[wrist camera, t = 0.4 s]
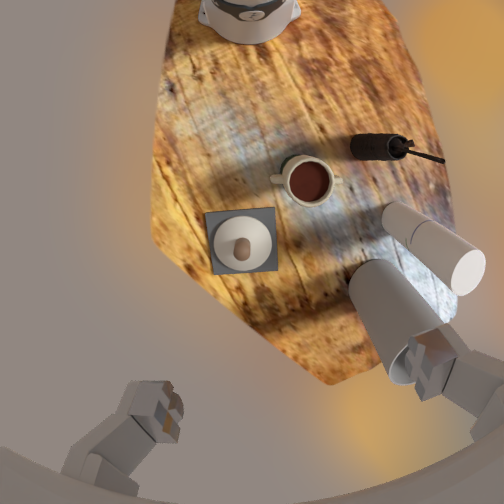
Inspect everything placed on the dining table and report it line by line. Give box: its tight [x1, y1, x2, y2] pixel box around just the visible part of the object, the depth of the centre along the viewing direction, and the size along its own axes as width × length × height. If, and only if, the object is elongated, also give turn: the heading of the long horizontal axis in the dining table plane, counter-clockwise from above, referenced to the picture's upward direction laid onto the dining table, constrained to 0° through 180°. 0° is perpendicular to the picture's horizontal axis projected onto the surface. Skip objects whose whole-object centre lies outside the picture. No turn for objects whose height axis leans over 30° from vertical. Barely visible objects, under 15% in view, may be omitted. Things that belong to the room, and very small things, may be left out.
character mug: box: [270, 155, 343, 207], centre depth 43 cm, size 11×7×13 cm, turn 92°
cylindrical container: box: [381, 202, 486, 296], centre depth 41 cm, size 7×7×25 cm
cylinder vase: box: [349, 259, 444, 385], centre depth 47 cm, size 12×12×25 cm
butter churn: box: [350, 133, 446, 164], centre depth 34 cm, size 9×10×28 cm
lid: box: [214, 215, 272, 271], centre depth 52 cm, size 11×11×5 cm
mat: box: [205, 207, 278, 275], centre depth 54 cm, size 13×13×1 cm
